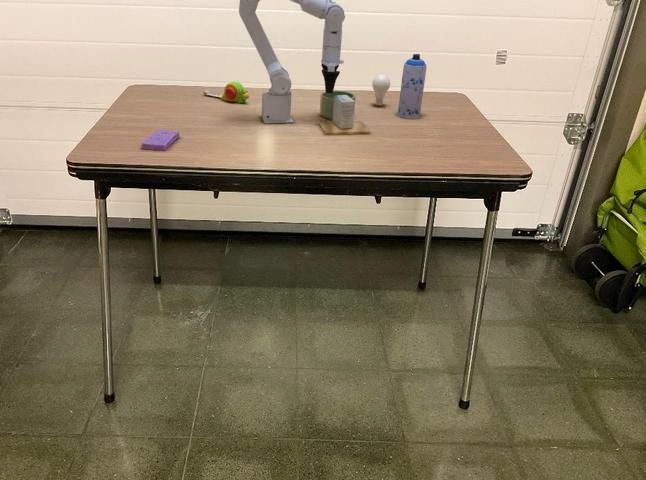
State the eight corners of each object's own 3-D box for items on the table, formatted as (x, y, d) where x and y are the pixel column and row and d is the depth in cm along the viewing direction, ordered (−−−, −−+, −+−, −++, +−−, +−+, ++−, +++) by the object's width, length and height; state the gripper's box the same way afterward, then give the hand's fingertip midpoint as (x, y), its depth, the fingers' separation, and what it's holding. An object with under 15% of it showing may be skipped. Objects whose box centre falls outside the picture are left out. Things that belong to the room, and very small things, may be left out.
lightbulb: (382, 109, 214) (385, 77, 208) (366, 106, 217) (369, 74, 211) (391, 105, 218) (394, 74, 212) (375, 102, 221) (378, 71, 215)
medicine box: (353, 128, 191) (355, 101, 187) (339, 129, 190) (342, 101, 186) (344, 121, 198) (346, 94, 193) (331, 121, 197) (333, 94, 192)
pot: (323, 121, 200) (325, 100, 196) (316, 111, 209) (317, 90, 206) (357, 120, 201) (359, 99, 198) (349, 110, 211) (350, 90, 207)
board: (325, 135, 188) (325, 132, 187) (318, 124, 197) (318, 121, 197) (369, 133, 190) (369, 131, 189) (360, 123, 199) (360, 120, 199)
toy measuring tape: (243, 105, 212) (242, 86, 209) (199, 96, 221) (199, 77, 218) (253, 101, 217) (253, 82, 214) (210, 92, 226) (210, 74, 223)
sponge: (179, 137, 182) (179, 131, 182) (165, 151, 172) (164, 144, 171) (157, 135, 183) (156, 129, 182) (141, 149, 173) (140, 142, 172)
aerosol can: (413, 111, 212) (421, 51, 202) (424, 117, 206) (433, 56, 196) (393, 112, 210) (400, 52, 200) (403, 119, 204) (411, 57, 194)
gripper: (345, 50, 183) (342, 96, 190) (343, 41, 195) (340, 84, 202) (322, 49, 183) (319, 95, 190) (321, 40, 195) (319, 83, 202)
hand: (328, 89), depth 196 cm, fingers open, 7 cm apart
